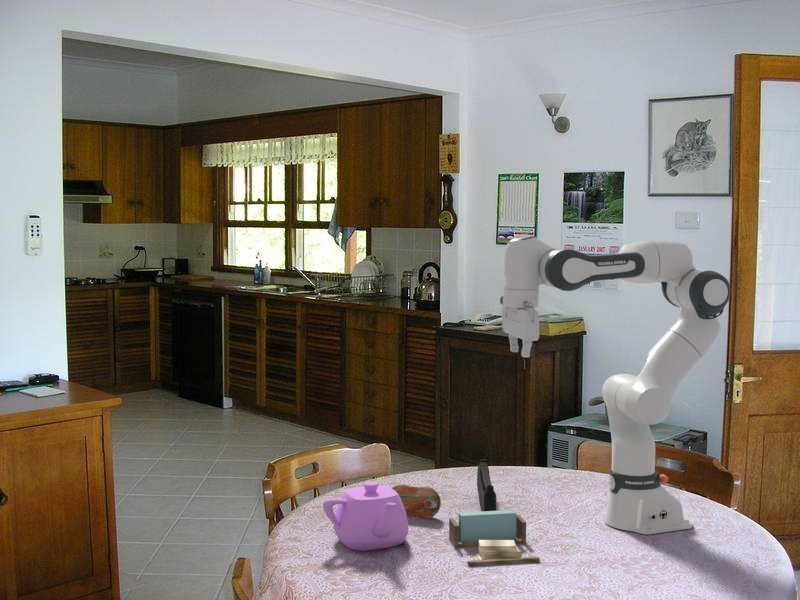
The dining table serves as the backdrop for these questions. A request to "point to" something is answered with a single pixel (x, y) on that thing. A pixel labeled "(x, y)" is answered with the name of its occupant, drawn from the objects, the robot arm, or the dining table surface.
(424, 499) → the tin
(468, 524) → the board
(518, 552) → the offcut middle
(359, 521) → the teapot
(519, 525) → the rack
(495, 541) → the offcut top
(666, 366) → the robot arm
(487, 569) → the dining table surface
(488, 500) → the magazine
